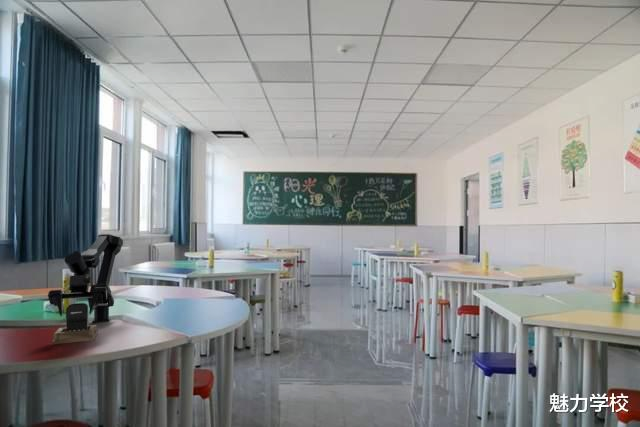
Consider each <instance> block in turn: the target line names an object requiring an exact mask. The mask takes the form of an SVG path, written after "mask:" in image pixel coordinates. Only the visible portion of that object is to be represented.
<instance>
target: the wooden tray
mask: <svg viewBox="0 0 640 427" xmlns="http://www.w3.org/2000/svg"><path fill="white" fill-rule="evenodd" d="M98 335H99V331H98V330H97V324H92V325H91V324H90V325H88V330H81V331H70V332H67V326H65V327H59V328H58V329H57V330H56V331H55V332H54V333H53V340H52V341H51V345H52V346H53V345H61V344H70V343H71V344H72V343H80V342H88V341H89V342H90V341H91V342H92V341H95V340H96V338H97V336H98Z"/></svg>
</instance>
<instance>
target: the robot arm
mask: <svg viewBox="0 0 640 427" xmlns="http://www.w3.org/2000/svg"><path fill="white" fill-rule="evenodd" d="M123 245H124V240H123V239H122V238H121V236H116V235H113V234H110V233H100V234H98V236H97V238H96V240H95V241H94V242H93V243H92V245H91V246H90V247H89V248H88V249H87V250H84V251H82V252H81V251H80V250H74V251H73V252H72V253H70V254H68V255H66V256H65V257H64V263H65V265H66V266H67V268H68V269H69V271H70V273H73V275H70V276H69V279H70V280H68V285H70V287H69V288H68V289H69V292H63V293H62V291H63V289H50V290H49V291H48V294H47V297H48V301H49V304H50V305H52V306H54V307H57V309H58V312H59V316H60V317H62V316H63V312H64V300H65V299H69V298H76V299H87V302H88V309H89V310H88V314H89V315H91V314H92V313H93V318H92V319H93V320H91V321H92V322H91V323H102V322H110V320H111V318H109V317H110V307H114V305H115V299H114V297H113V295H112V290H111V288H110V286H109V284H110V281H111V277H112V273H113V272H112V271H113V268H114V263H115V259H116V256H117V255H118V254H119V253H120V252H121V249H122V247H123ZM102 254H103V256H102V261H101V260H100V256H101V255H102ZM100 262H101V264H100ZM99 264H100V269H99V273H98V277H97V281H96V283H95V284H92V270H91V269H96V268H97V267H98V266H99ZM90 284H92V285H91V286H90ZM89 286H90V290H89ZM70 291H71V292H70Z"/></svg>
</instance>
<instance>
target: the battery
mask: <svg viewBox="0 0 640 427" xmlns="http://www.w3.org/2000/svg"><path fill="white" fill-rule="evenodd" d="M65 320H66V321H65V322H66V327H67V332H70V331H81V330H88V323H89V304H87V303H86V302H77V303H76V302H75V304H70V303H69V304H68V305H67V306H66V310H65Z"/></svg>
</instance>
